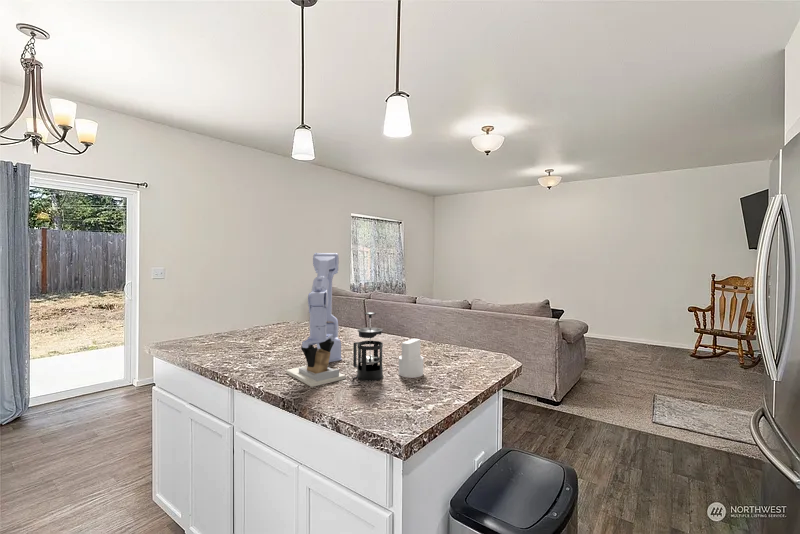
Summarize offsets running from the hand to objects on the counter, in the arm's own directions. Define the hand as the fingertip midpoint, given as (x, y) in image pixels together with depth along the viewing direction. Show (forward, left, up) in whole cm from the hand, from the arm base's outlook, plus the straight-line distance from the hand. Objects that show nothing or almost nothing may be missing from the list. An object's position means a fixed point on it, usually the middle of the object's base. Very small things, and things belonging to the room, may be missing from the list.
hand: (318, 363), depth 131 cm
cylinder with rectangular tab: (-28, +18, -5) cm, 34 cm away
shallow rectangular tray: (0, -2, -5) cm, 5 cm away
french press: (-14, +11, -5) cm, 18 cm away
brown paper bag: (0, 0, -3) cm, 3 cm away
